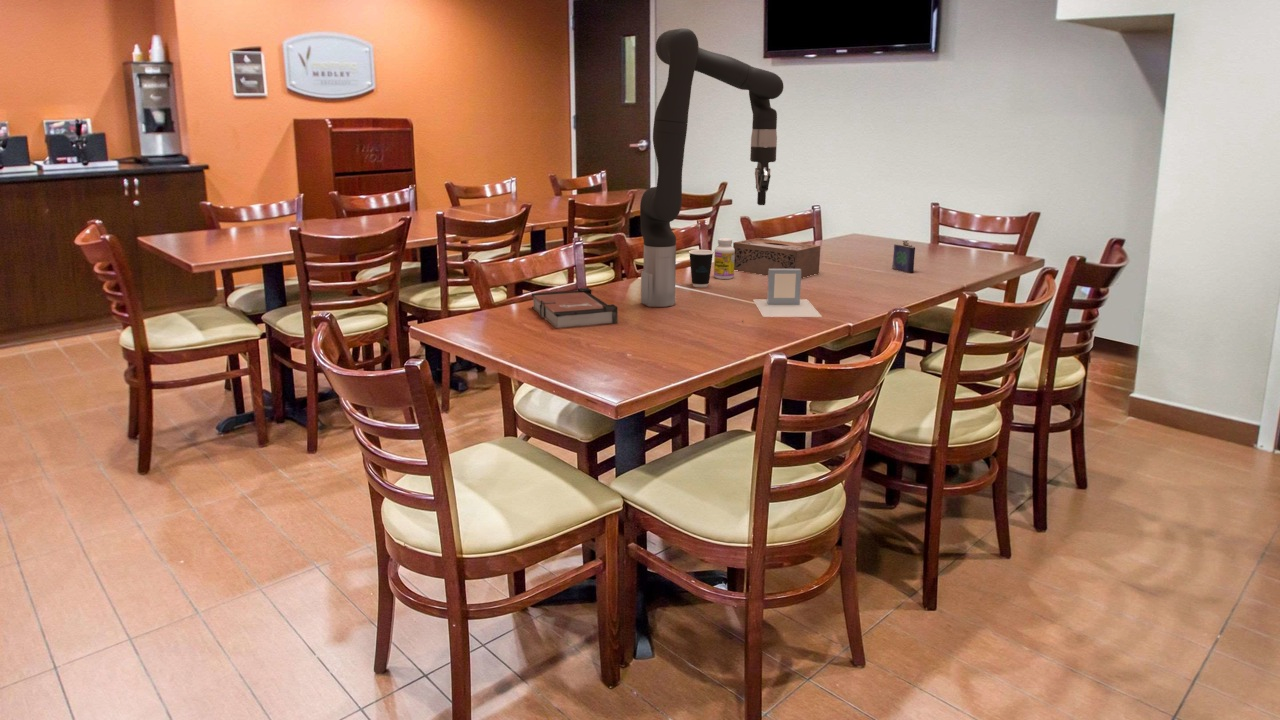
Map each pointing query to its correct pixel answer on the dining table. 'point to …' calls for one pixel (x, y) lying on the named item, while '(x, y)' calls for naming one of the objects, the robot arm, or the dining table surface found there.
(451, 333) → the dining table surface
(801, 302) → the board
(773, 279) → the tile
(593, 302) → the book
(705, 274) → the dixie cup
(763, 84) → the robot arm
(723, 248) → the supplement bottle
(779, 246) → the tissue box cover
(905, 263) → the flask
